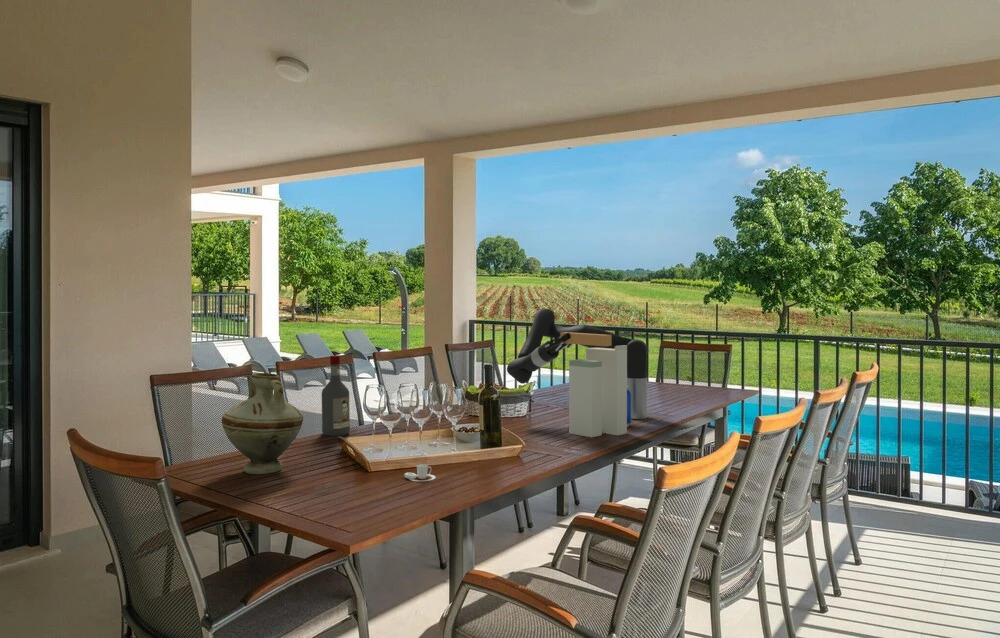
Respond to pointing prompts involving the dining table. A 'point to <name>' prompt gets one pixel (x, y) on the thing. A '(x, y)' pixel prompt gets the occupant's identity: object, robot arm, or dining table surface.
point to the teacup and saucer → (420, 473)
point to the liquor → (335, 403)
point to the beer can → (628, 406)
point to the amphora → (263, 424)
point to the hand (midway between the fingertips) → (573, 334)
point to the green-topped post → (585, 397)
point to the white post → (612, 387)
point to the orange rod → (588, 339)
